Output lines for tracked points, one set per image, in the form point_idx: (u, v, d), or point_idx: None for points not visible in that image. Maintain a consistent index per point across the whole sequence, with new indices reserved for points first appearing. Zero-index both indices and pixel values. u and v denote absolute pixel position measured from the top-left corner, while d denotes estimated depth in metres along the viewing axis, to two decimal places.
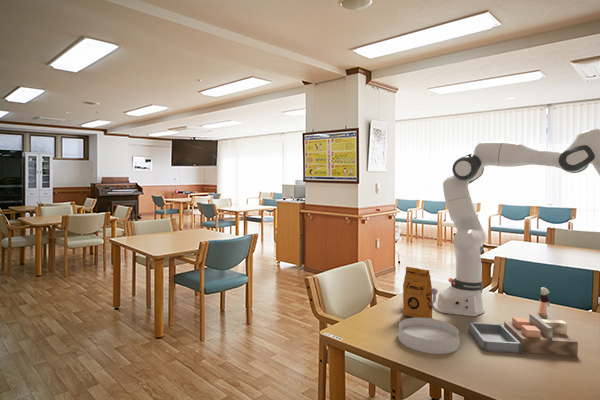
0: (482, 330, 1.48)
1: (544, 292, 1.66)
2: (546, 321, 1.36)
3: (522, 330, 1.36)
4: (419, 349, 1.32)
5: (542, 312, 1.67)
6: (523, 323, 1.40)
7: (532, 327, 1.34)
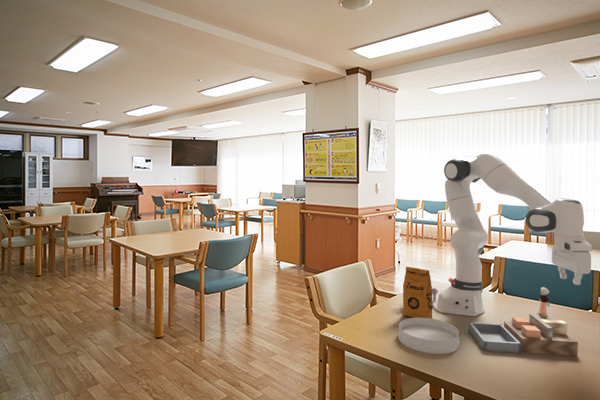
0: (482, 330, 1.48)
1: (544, 292, 1.66)
2: (546, 321, 1.36)
3: (522, 330, 1.36)
4: (419, 349, 1.32)
5: (542, 312, 1.67)
6: (523, 323, 1.40)
7: (532, 327, 1.34)
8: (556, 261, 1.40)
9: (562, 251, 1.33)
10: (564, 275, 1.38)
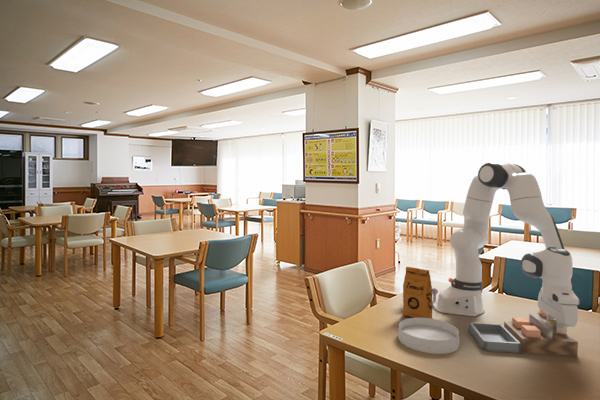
0: (482, 330, 1.48)
1: None
2: (546, 321, 1.36)
3: (522, 330, 1.36)
4: (419, 349, 1.32)
5: (542, 312, 1.67)
6: (523, 323, 1.40)
7: (532, 327, 1.34)
8: (542, 306, 1.43)
9: (549, 300, 1.35)
10: None
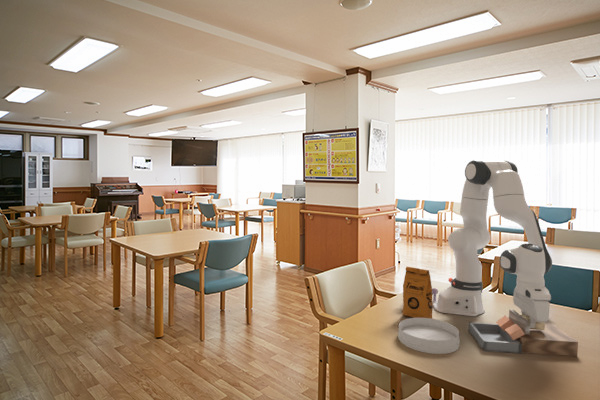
0: (482, 330, 1.48)
1: None
2: (525, 317, 1.38)
3: (508, 334, 1.36)
4: (419, 349, 1.32)
5: None
6: (506, 324, 1.41)
7: (513, 328, 1.35)
8: (516, 302, 1.44)
9: (523, 296, 1.36)
10: None
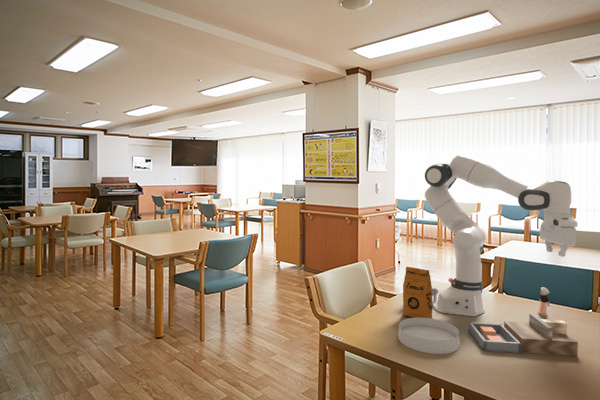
0: None
1: (544, 292, 1.66)
2: (546, 321, 1.37)
3: None
4: (419, 349, 1.32)
5: (542, 312, 1.67)
6: None
7: None
8: (543, 236, 1.57)
9: (550, 227, 1.49)
10: (550, 248, 1.55)
